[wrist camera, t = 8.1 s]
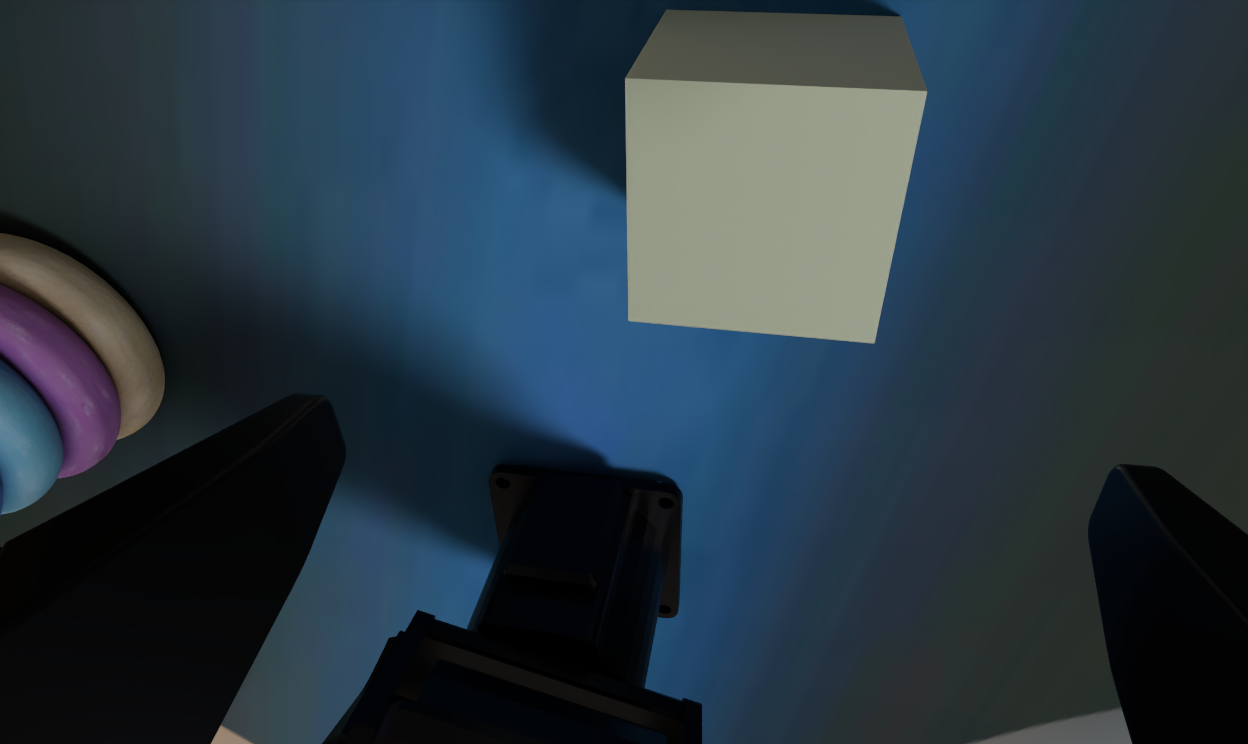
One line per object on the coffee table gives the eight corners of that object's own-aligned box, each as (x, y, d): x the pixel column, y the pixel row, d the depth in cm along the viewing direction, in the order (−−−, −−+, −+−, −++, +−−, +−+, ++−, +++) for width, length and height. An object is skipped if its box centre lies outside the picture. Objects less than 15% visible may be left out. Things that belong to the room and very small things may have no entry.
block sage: (862, 229, 20) (874, 343, 16) (663, 215, 21) (628, 321, 17) (901, 15, 17) (927, 91, 13) (666, 8, 18) (625, 78, 14)
